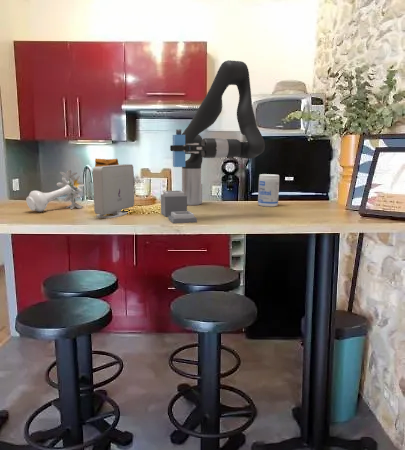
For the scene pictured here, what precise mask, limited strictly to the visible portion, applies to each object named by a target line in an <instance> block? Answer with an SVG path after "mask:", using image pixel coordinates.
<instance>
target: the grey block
mask: <svg viewBox="0 0 405 450" xmlns="http://www.w3.org/2000/svg"><path fill="white" fill-rule="evenodd" d="M162 193H163V194H160V214H161V215H162V216H163V217H165V218H168V215H171V212H180V211H188V205H187V196H185V195H184V192H182V190H163V192H162Z"/></svg>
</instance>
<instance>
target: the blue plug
mask: <svg viewBox="0 0 405 450" xmlns="http://www.w3.org/2000/svg"><path fill="white" fill-rule="evenodd" d="M175 132H176V133H175V134H172V145H185V135H182V129H181V128H180V129H178V128H177V129H175ZM185 161H186V154H185V152H183V151H172V168H182V167H185Z"/></svg>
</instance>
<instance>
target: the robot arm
mask: <svg viewBox="0 0 405 450" xmlns="http://www.w3.org/2000/svg"><path fill="white" fill-rule="evenodd" d="M229 86H236V87H237V90H238V91H237V92H238V96H239V98H238V104H237V109H236V119H237V123H238V126H239V131H240V134H241V135H242V136H245V138H246V141H240V139H236V138H220V137H219V138H212V137H211V138H210V137H209V138H208V137H206V138H203V137H202V136H201V135H200V134H201V133H203V132H204V131H206V130H207V129H208V128H210V127H211V126H212V125H214V123H215V122H216V121H217V119H218V118H219V117H220V114H221V112H222V111H223V95H224V94H225V91H226V90H227V88H228V87H229ZM181 135H185V145H173V144H171V145H170V146H169V151H170V152H173V151H183V152H185V155H190V157H189V158H187V160H186V159H185V167H181V191H182V192H184V195H185V196H187V206H198V205H202V204H203V184H202V165H203V159H221V158H240V159H247V160H248V159H255V158H256V157H258V156H259V155H261V154H262V153H264V152H265V148H266V146H265V145H266V143H265V140H264V136H263V135H262V133H261V132H260V129H259V128H258V124H257V120H256V117H255V113H254V109H253V101H252V89H251V80H250V72H249V67H248V65H247V63H245V62H244V61H242V60H241V61H240V60H225V61H224V62H222V63H221V65H220V66H219V68H218V70H217V71H216V75H215V77H214V80H213V81H212V84H211V86H210V87H209V89H208V92H207V94H206V95H205V97H204V98H203V100H202V102H201V104H200V105H199V107H198V109H197V111H196V113H195V114H194V115H193V118H192V119H191V121H190V123H189V124H188V125H187V127H186V128H185V130H184V131H182V132H181Z"/></svg>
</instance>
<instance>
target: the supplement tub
mask: <svg viewBox="0 0 405 450" xmlns="http://www.w3.org/2000/svg"><path fill="white" fill-rule="evenodd" d="M279 191H280V175H279V174H271V173H270V174H269V173H268V174H267V173H262V174H261V173H260V174H259V177H258V191H257V193H258V194H257V195H258V196H257V204H258V206H260V207H265V208H266V207H277V206H278V205H279V196H280V195H279Z"/></svg>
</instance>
